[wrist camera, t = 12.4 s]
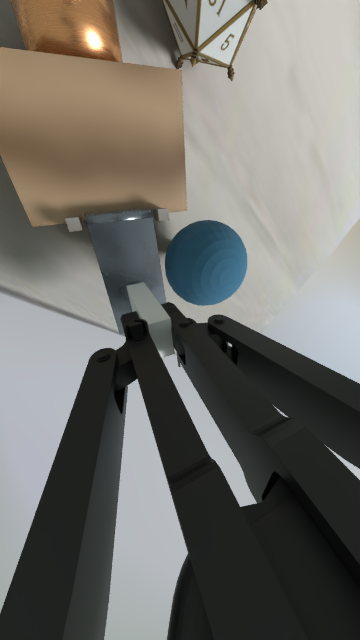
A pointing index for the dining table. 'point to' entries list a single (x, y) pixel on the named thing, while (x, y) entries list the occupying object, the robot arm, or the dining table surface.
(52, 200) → the hitch block
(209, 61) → the game die
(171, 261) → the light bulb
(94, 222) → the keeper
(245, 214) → the dining table surface
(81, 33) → the pin
